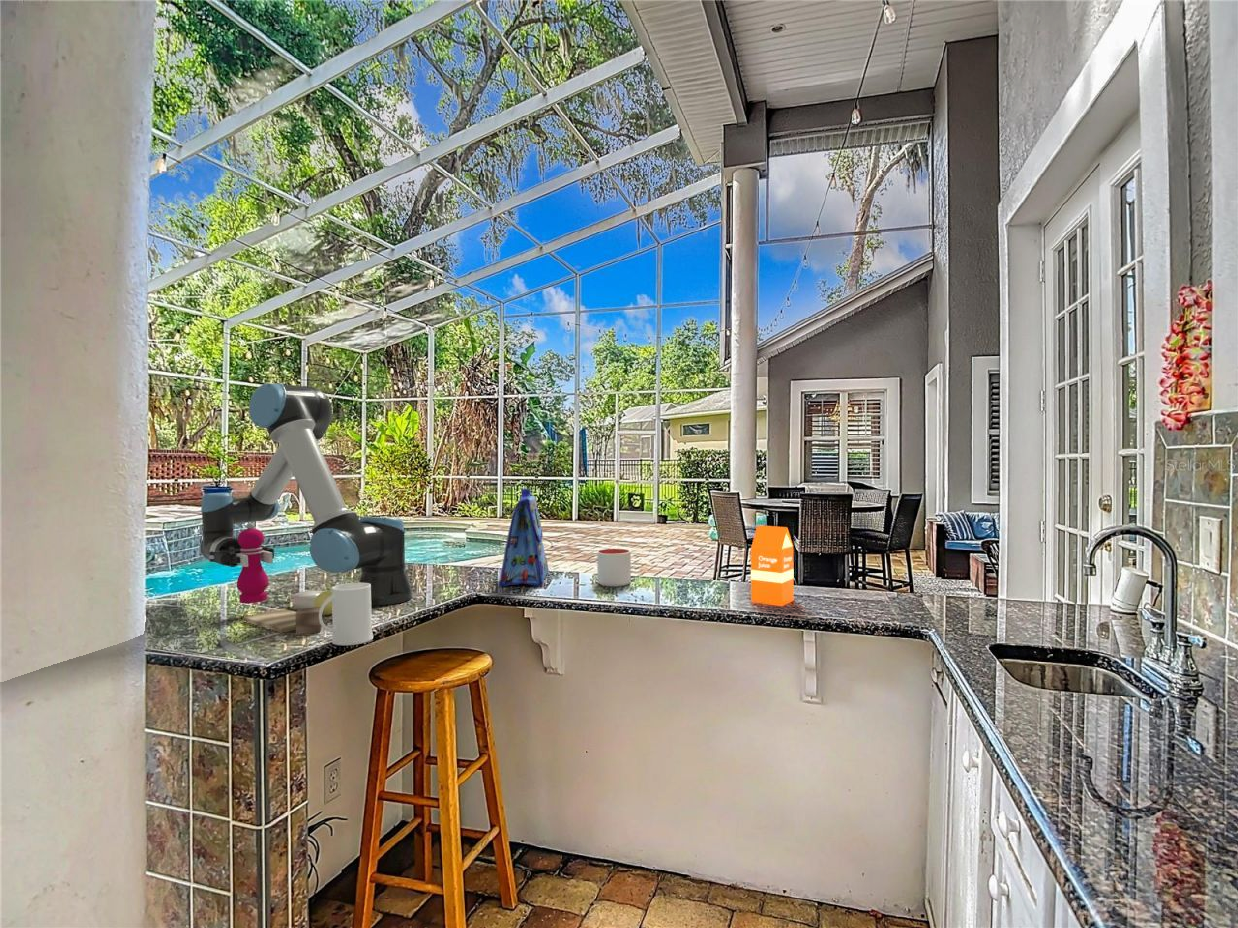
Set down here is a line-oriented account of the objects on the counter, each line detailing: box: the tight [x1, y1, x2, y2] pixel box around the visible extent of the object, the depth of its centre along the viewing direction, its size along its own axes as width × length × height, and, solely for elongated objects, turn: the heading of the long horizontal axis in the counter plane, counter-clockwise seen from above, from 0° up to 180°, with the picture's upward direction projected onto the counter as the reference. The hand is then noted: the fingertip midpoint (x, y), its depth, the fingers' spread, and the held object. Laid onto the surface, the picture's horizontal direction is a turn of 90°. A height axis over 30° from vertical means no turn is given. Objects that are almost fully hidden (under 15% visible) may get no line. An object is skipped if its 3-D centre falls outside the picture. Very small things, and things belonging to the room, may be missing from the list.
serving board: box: [242, 608, 296, 634], centre depth 166 cm, size 18×10×1 cm, turn 54°
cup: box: [596, 548, 632, 588], centre depth 206 cm, size 10×10×10 cm
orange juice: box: [750, 524, 795, 607], centre depth 181 cm, size 8×9×20 cm
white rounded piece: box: [291, 590, 325, 610], centre depth 183 cm, size 8×8×4 cm
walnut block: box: [295, 607, 322, 636], centre depth 158 cm, size 5×5×5 cm
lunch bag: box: [499, 487, 550, 587], centre depth 214 cm, size 22×14×29 cm, turn 1°
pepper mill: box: [236, 522, 270, 604], centre depth 174 cm, size 7×7×20 cm
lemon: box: [314, 590, 332, 616], centre depth 173 cm, size 6×6×6 cm
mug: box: [319, 581, 374, 646], centre depth 149 cm, size 12×8×12 cm
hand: (258, 559), depth 170 cm, fingers closed on pepper mill, 5 cm apart
